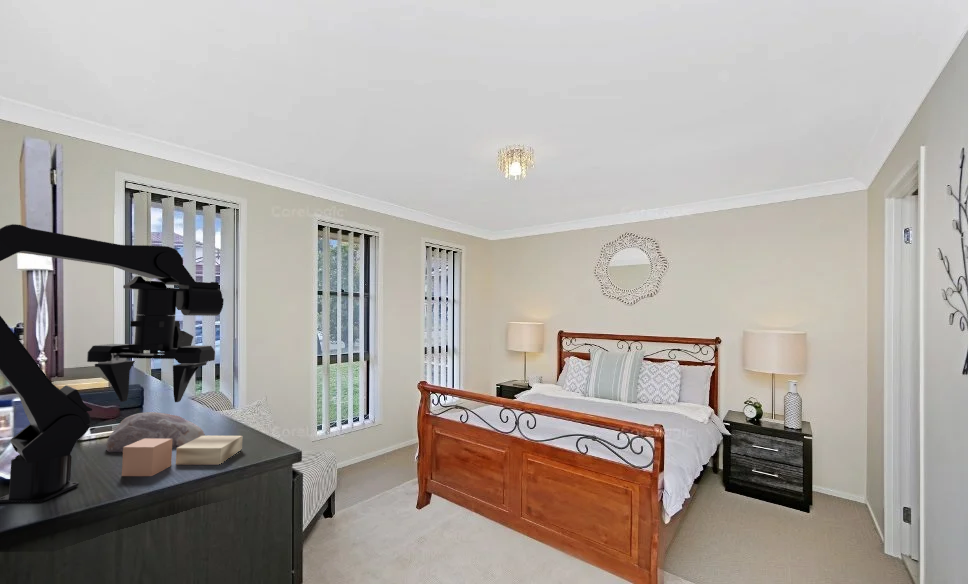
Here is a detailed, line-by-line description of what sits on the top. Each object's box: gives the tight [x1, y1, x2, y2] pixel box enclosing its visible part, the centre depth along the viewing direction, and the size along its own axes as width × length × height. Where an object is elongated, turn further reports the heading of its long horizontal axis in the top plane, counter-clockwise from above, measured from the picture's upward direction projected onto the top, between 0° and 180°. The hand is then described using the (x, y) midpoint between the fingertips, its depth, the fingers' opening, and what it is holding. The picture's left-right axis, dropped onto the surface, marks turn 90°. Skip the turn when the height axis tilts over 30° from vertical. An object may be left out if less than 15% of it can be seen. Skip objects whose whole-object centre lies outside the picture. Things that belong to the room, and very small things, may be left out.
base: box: [175, 435, 243, 466], centre depth 85 cm, size 8×8×3 cm
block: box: [121, 439, 173, 477], centre depth 78 cm, size 5×5×5 cm
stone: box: [105, 411, 206, 453], centre depth 93 cm, size 17×10×10 cm
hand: (150, 401), depth 79 cm, fingers open, 9 cm apart
